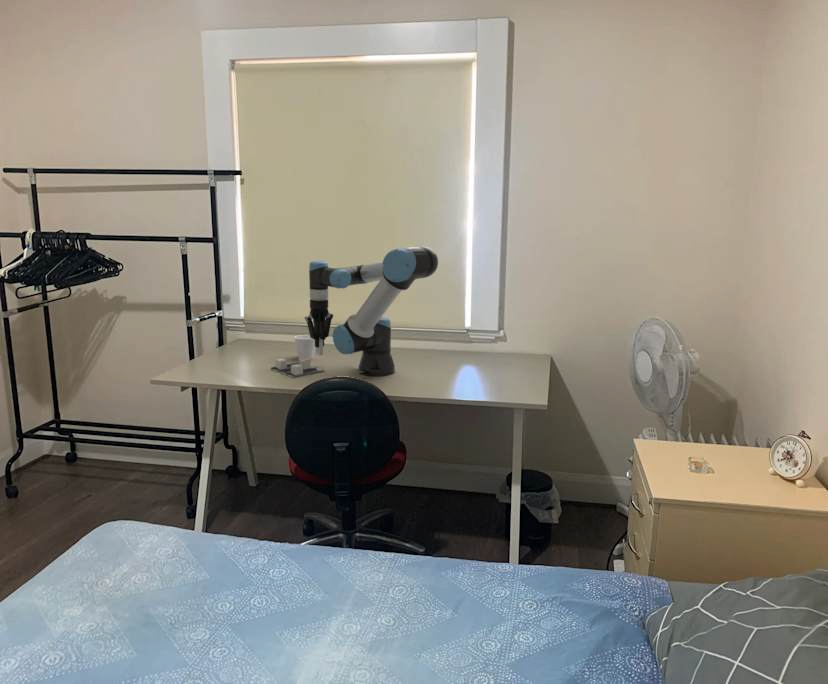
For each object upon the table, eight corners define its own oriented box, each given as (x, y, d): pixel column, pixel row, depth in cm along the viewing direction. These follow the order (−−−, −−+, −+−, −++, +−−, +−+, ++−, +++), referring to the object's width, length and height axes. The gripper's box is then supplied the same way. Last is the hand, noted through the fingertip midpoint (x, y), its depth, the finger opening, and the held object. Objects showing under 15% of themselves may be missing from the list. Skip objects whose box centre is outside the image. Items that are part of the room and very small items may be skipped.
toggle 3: (310, 368, 285) (310, 359, 284) (304, 369, 283) (304, 360, 282) (305, 366, 288) (304, 357, 287) (299, 367, 286) (298, 358, 285)
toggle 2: (303, 374, 276) (302, 365, 275) (296, 375, 274) (296, 367, 273) (297, 372, 279) (297, 364, 278) (291, 373, 277) (290, 365, 276)
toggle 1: (287, 368, 284) (286, 360, 284) (280, 369, 282) (280, 361, 282) (281, 366, 287) (281, 358, 286) (275, 367, 285) (275, 359, 285)
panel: (326, 374, 282) (326, 369, 282) (292, 381, 272) (292, 376, 271) (302, 366, 295) (302, 361, 295) (269, 372, 285) (268, 367, 284)
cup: (320, 359, 308) (319, 334, 305) (314, 364, 298) (314, 339, 296) (298, 358, 309) (297, 334, 306) (292, 363, 299) (291, 338, 297)
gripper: (326, 296, 291) (327, 350, 297) (300, 299, 283) (301, 355, 288) (337, 298, 286) (337, 353, 291) (310, 301, 277) (311, 358, 283)
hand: (319, 354), depth 290 cm, fingers closed
